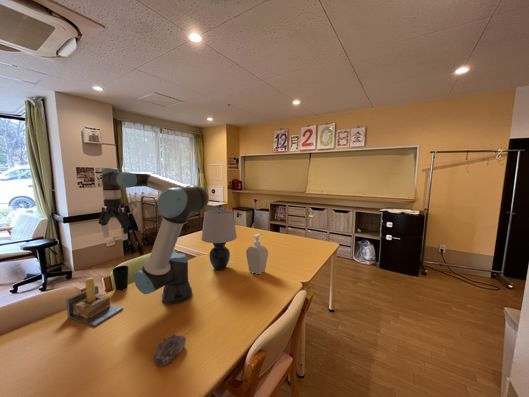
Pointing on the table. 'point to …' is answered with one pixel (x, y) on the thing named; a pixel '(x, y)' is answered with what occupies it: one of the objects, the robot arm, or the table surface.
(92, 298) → the dowel
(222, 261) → the lamp
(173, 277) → the robot arm
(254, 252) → the soap bottle
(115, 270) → the cup
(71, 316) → the dark grey angled piece
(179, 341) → the rock
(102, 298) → the block
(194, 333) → the table surface
